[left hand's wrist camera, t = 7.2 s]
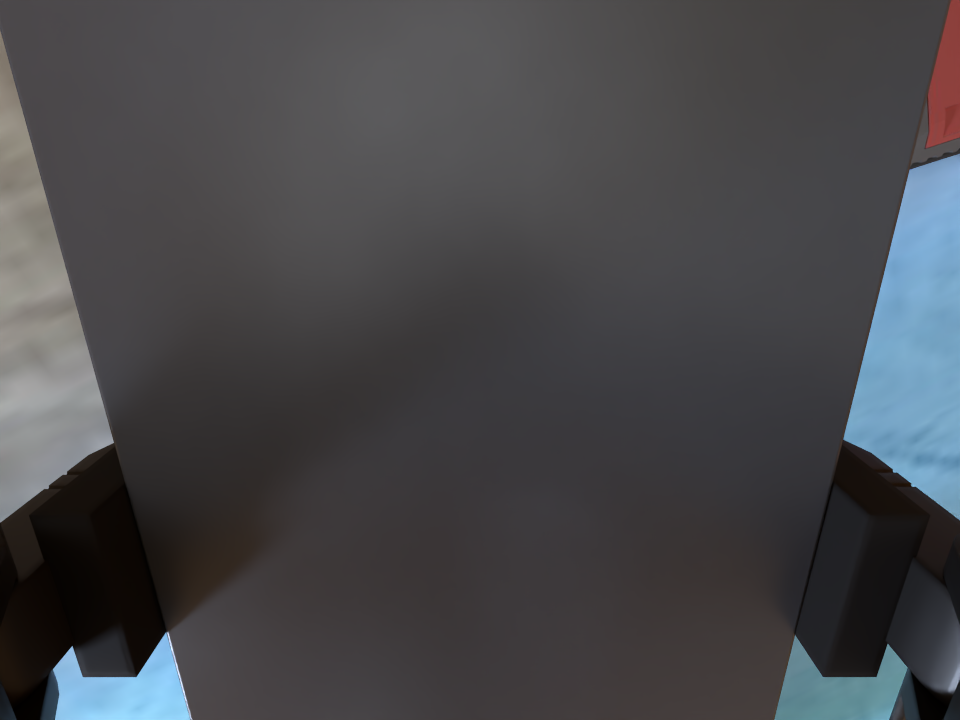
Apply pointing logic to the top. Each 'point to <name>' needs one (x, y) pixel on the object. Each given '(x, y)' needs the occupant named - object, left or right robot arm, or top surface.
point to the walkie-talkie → (942, 99)
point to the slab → (476, 330)
